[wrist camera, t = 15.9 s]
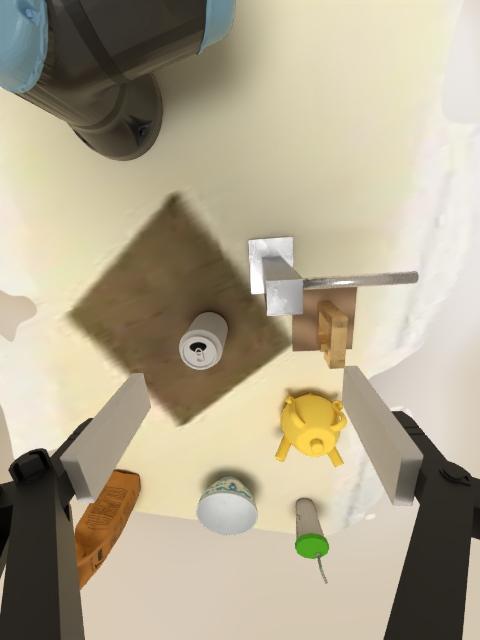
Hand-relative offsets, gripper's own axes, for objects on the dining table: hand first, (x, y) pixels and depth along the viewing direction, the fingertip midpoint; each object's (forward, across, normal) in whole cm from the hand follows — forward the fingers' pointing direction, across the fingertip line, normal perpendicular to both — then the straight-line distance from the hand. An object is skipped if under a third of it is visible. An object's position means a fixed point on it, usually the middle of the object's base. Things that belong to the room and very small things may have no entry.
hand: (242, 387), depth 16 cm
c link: (+34, +14, -9) cm, 38 cm away
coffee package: (+35, -39, -55) cm, 76 cm away
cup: (+35, +11, -62) cm, 72 cm away
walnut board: (+35, +14, -8) cm, 38 cm away
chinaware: (+35, -9, -55) cm, 66 cm away
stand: (+35, +10, +3) cm, 36 cm away
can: (+35, -9, -9) cm, 37 cm away
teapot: (+35, +11, -32) cm, 49 cm away
